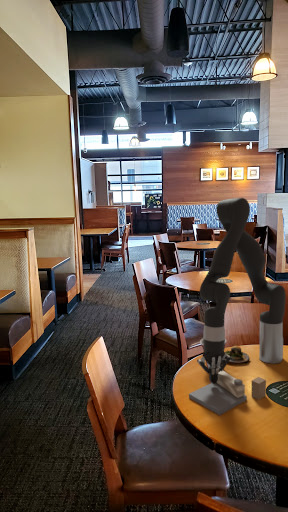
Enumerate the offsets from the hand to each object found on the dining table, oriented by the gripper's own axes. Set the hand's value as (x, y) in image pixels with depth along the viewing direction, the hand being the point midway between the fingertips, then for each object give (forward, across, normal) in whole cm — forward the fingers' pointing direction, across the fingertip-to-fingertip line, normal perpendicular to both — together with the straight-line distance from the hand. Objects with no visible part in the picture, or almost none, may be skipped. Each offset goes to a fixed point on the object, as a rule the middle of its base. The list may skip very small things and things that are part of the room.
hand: (213, 382), depth 131 cm
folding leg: (+1, -4, +2) cm, 5 cm away
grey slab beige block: (+3, -2, +6) cm, 7 cm away
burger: (+2, -22, -19) cm, 29 cm away
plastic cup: (+3, -9, -16) cm, 19 cm away
